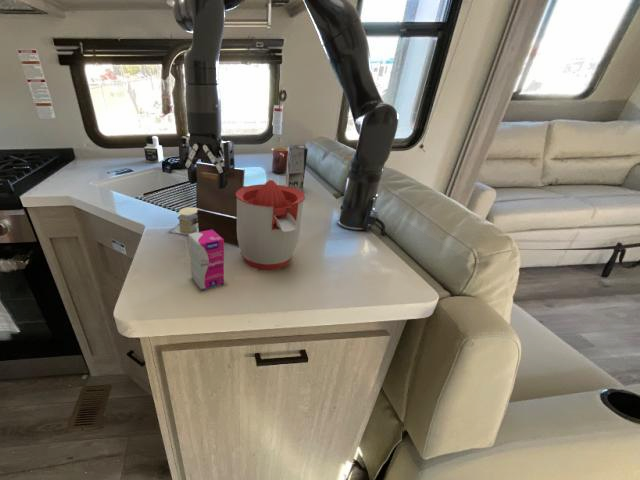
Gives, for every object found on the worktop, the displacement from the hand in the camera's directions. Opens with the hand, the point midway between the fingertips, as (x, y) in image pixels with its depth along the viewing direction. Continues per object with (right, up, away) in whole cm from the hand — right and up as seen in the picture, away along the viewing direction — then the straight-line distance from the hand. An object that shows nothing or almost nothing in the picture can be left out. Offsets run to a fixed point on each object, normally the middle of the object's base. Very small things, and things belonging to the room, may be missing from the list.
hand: (207, 185), depth 79 cm
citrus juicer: (+15, -19, +3) cm, 24 cm away
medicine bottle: (-38, +46, +94) cm, 111 cm away
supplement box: (+1, -24, -5) cm, 25 cm away
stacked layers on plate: (-7, -6, +20) cm, 22 cm away
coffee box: (+30, +18, +54) cm, 65 cm away
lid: (+3, +1, +5) cm, 6 cm away
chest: (+5, -9, +17) cm, 19 cm away
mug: (+27, +33, +76) cm, 87 cm away
